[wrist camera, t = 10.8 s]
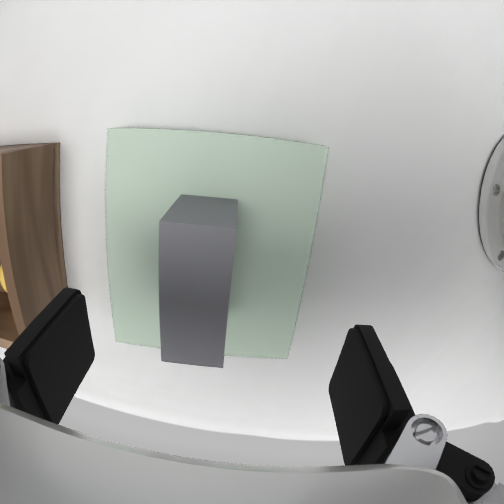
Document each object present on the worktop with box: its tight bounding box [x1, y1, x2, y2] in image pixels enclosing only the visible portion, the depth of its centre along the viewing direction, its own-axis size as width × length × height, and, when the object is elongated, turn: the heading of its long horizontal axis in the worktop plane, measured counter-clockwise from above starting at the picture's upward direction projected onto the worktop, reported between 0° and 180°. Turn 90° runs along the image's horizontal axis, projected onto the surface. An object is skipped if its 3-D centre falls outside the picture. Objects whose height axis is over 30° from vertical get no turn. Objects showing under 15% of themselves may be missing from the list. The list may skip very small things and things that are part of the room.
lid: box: [105, 128, 329, 368], centre depth 17 cm, size 12×14×7 cm
